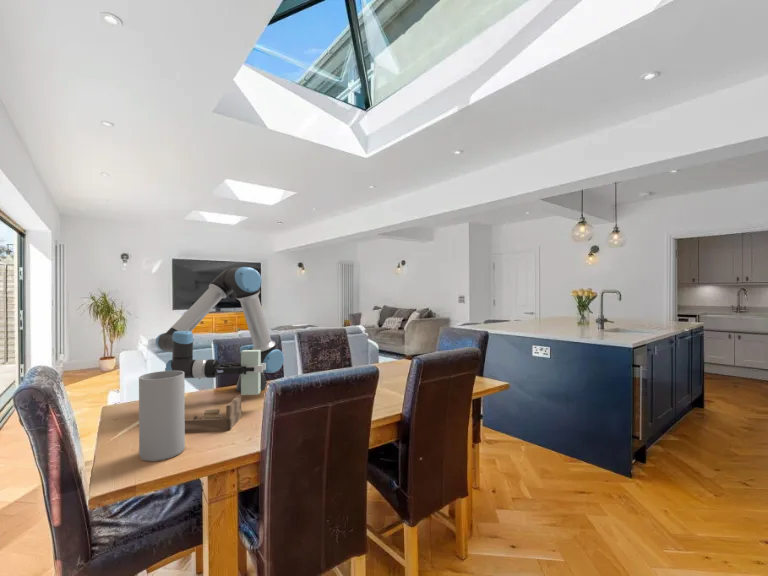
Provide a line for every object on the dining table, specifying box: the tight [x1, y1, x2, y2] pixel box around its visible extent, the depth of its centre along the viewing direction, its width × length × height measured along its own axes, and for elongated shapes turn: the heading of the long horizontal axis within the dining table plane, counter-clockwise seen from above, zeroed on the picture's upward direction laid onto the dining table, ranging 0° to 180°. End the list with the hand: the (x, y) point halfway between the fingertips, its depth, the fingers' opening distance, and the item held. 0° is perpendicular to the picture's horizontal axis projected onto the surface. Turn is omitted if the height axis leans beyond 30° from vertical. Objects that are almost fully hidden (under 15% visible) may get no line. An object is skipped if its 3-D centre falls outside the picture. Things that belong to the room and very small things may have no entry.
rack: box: [185, 394, 242, 433], centre depth 142 cm, size 14×18×10 cm
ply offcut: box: [201, 413, 223, 419], centre depth 146 cm, size 4×6×2 cm, turn 95°
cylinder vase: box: [138, 370, 186, 462], centre depth 120 cm, size 12×12×25 cm
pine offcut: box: [203, 408, 221, 417], centre depth 146 cm, size 4×5×2 cm
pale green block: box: [240, 350, 262, 396], centre depth 158 cm, size 4×7×18 cm, turn 95°
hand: (264, 367), depth 159 cm, fingers closed on pale green block, 4 cm apart
